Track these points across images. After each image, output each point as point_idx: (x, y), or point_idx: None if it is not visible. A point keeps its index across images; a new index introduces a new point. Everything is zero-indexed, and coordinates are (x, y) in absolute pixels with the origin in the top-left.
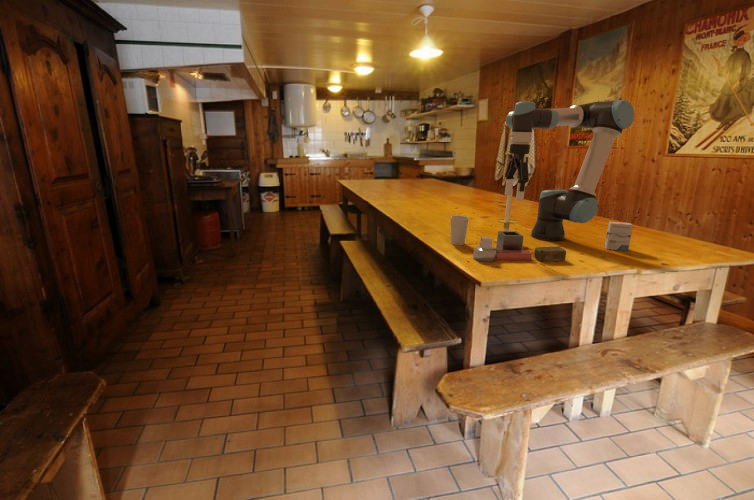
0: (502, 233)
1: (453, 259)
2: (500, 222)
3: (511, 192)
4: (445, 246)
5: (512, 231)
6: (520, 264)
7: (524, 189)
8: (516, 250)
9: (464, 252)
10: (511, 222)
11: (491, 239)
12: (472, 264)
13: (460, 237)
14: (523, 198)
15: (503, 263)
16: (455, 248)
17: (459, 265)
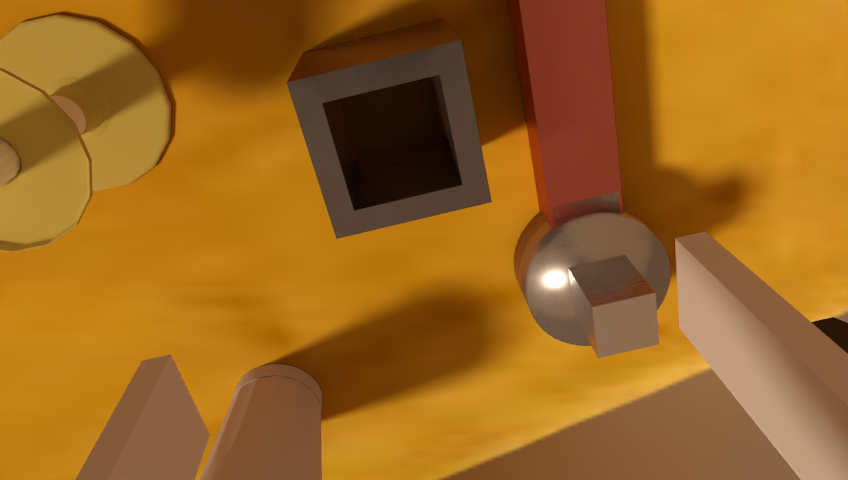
0: (412, 209)
1: (614, 395)
2: (70, 223)
3: (159, 385)
4: (375, 447)
5: (304, 121)
6: (673, 54)
7: (810, 326)
8: (537, 79)
9: (473, 356)
10: (11, 117)
11: (655, 296)
12: None
13: (316, 419)
14: (716, 242)
15: (661, 156)
16: (401, 401)
17: None
